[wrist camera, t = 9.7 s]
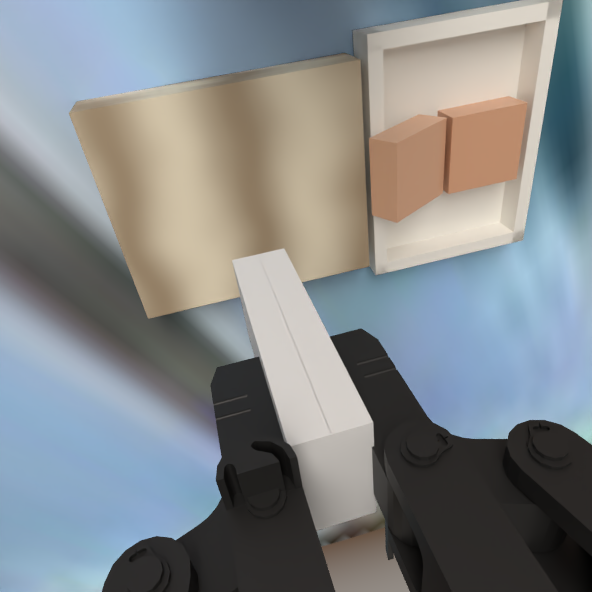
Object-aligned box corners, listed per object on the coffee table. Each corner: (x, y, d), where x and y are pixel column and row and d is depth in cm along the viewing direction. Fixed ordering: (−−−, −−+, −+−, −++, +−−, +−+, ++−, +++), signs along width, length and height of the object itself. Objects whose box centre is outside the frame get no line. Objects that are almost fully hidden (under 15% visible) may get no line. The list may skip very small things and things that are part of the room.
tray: (364, 259, 33) (375, 275, 31) (352, 30, 25) (367, 34, 23) (504, 226, 34) (522, 240, 32) (535, -3, 26) (562, -1, 24)
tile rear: (516, 178, 29) (499, 169, 31) (527, 102, 27) (508, 95, 28) (448, 194, 29) (434, 183, 30) (452, 117, 26) (437, 110, 28)
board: (149, 296, 31) (148, 318, 29) (76, 101, 24) (68, 113, 22) (356, 248, 32) (369, 266, 30) (344, 52, 26) (360, 59, 24)
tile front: (371, 215, 28) (397, 223, 27) (368, 138, 25) (396, 143, 24) (417, 187, 30) (442, 193, 29) (419, 114, 28) (446, 117, 27)
